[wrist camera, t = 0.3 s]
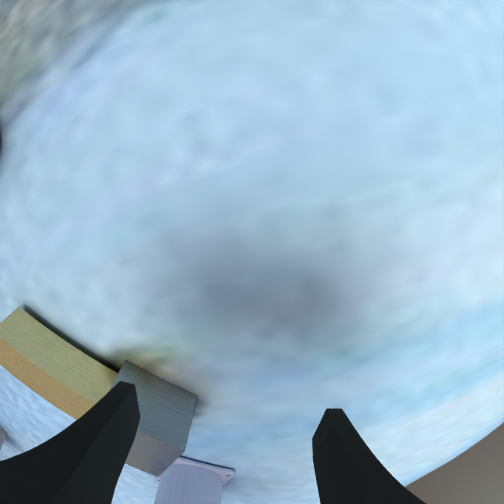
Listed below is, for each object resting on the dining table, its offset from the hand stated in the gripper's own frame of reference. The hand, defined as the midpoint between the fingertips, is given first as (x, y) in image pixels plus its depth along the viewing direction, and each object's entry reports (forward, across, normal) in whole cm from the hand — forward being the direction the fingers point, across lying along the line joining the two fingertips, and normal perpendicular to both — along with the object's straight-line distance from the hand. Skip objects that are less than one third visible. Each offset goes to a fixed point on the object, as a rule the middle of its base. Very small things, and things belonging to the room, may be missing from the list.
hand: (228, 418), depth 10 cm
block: (+9, +12, +9) cm, 18 cm away
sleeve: (+10, +7, +12) cm, 17 cm away
